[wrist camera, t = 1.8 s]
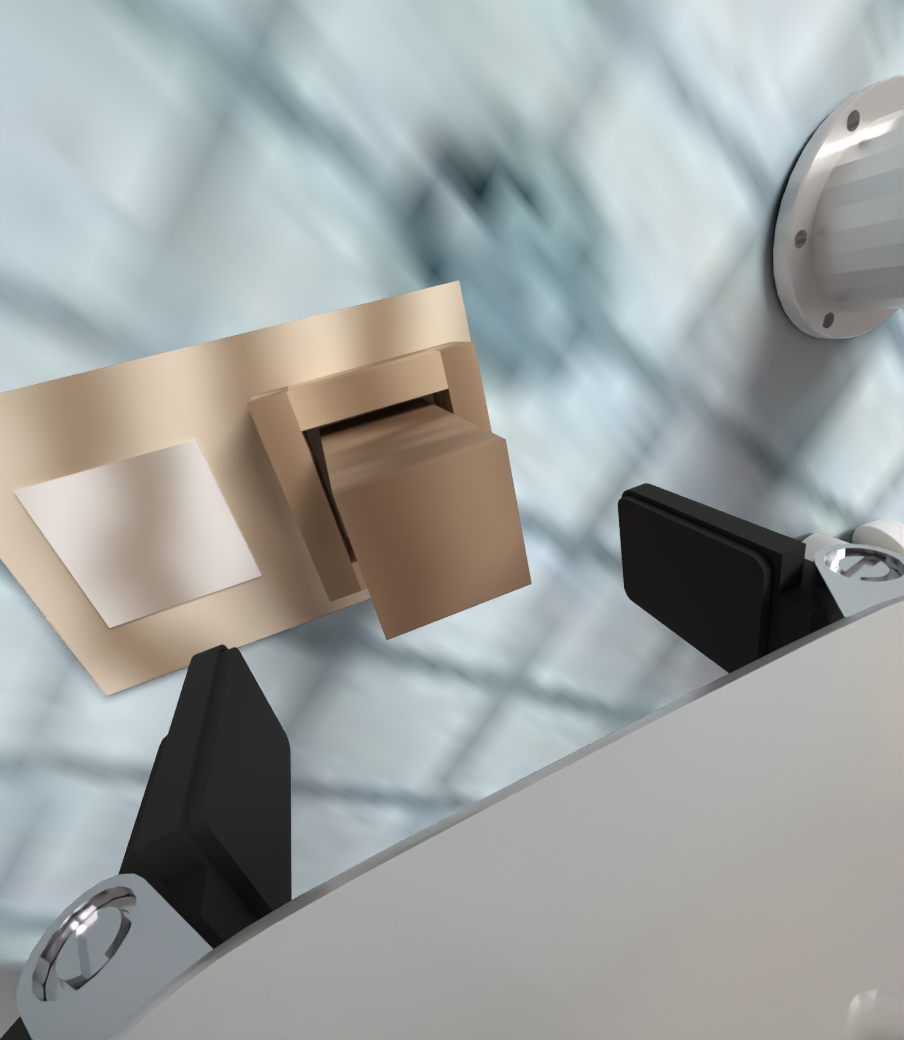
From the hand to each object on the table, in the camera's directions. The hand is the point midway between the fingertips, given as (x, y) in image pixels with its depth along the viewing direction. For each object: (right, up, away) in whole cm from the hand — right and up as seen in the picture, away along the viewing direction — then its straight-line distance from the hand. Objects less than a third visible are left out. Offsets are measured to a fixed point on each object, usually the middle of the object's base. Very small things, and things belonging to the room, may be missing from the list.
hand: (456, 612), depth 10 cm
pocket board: (-9, +4, +12) cm, 15 cm away
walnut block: (-3, +5, +12) cm, 13 cm away
